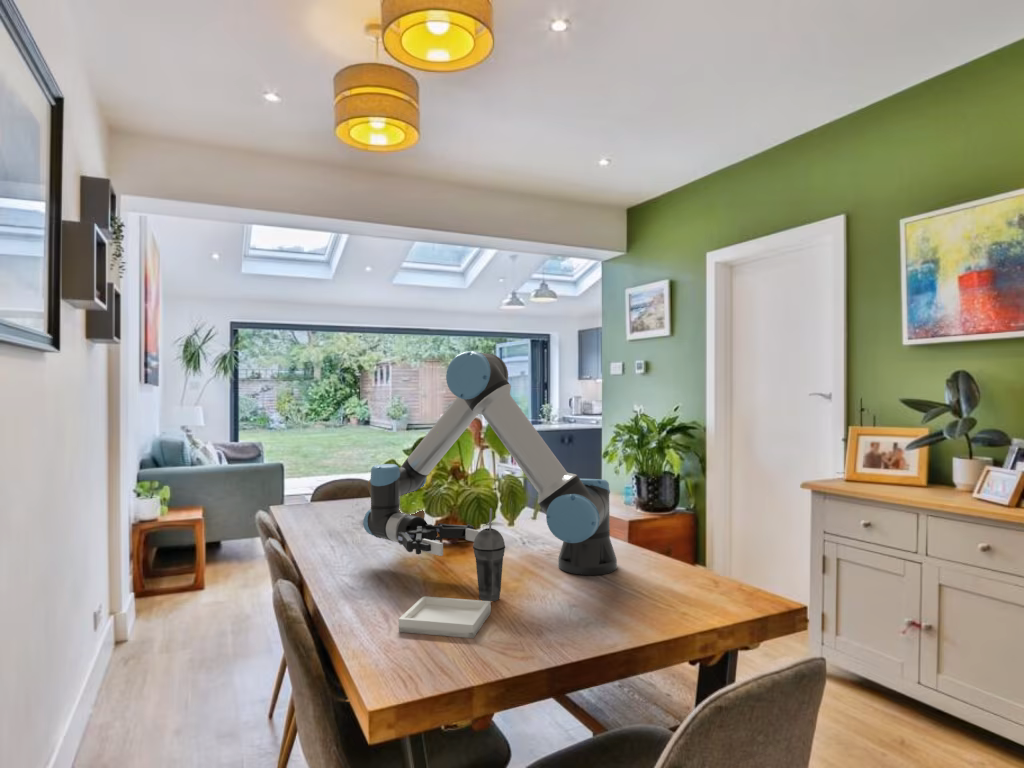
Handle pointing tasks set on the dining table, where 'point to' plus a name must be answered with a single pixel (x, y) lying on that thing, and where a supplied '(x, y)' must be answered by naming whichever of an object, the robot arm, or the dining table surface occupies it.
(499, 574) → the beverage cup
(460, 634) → the tray
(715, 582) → the dining table surface
